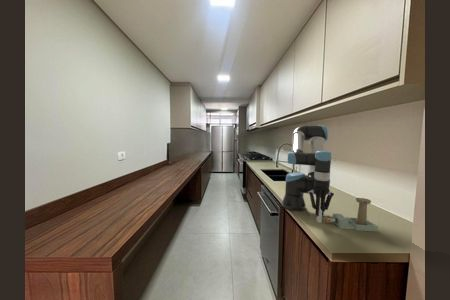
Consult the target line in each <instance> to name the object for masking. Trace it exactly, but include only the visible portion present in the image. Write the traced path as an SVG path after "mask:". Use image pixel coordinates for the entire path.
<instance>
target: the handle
mask: <svg viewBox="0 0 450 300" xmlns="http://www.w3.org/2000/svg"><path fill="white" fill-rule="evenodd" d="M355 201H356V202H357V203H358V209H357V216H356V218H357V221H358V223H357V225H367V224H366V219H367V217H368V214H367V213H368V211H367V209H368V205H369V204H371V203H372V200H371V199H368V198H365V197H356V198H355Z"/></svg>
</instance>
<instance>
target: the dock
mask: <svg viewBox="0 0 450 300" xmlns="http://www.w3.org/2000/svg"><path fill="white" fill-rule="evenodd" d="M332 218H333V219H338V223H336V222H333V224H334V225H336V226H337V227H338V228H339V229H342V230H343V229H345V230H356V231H365V232H367V231H368V232H369V231H370V232H379V226H378V225H376V224H375V223H374V222H373V221H370V220H369V219H366V224H365V225H358V221H357V217H348V216H346V217H345V216H344V215H342V214H341V213H332Z"/></svg>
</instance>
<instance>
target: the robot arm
mask: <svg viewBox="0 0 450 300" xmlns="http://www.w3.org/2000/svg"><path fill="white" fill-rule="evenodd" d="M328 133H329V132H328V128H327V126H326V125H321V124H318V125H300V126H298V127H296V128H295V129H294V130H293V131H292V132H291V135H290V139H291V140H292V141H291V151H288V152H287V164H289V165H298V166H299V165H301V166H309V172H308V173H307V175H305V173H304V172H290V173H287V174H286V176H285V190H284V191H285V192H284V196H283V199H282V201H281V206H282V207H283V208H284V209H287V210H290V211H293V212H294V211H295V212H301V211H302V212H303V211H305V210H306V207H307V206H306V202H305V199H304V194H307V195H308V194H309V198H310V202H311V207H312V208H313V209H314V210H315V212H314V213H315V216H316V222H317V223H322V220H323V219H322V218H323V217H324V213H325V211H328V209H329V208H330V207H329V206H330V204H331V201H332V198H333V196H334V195H335V193H333V192H332V191H330V185H331V164H332V153H331V151H327V150H324V144H325V143H326V142H327V141H328V136H329V135H328ZM304 141H307V142H308V144H309V146H310V147H309V149H310V150H309V152H305V151H304V150H305V147H304ZM314 195H315V196H314Z"/></svg>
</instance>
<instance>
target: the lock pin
mask: <svg viewBox="0 0 450 300" xmlns="http://www.w3.org/2000/svg"><path fill="white" fill-rule="evenodd" d="M324 222H325V224H330V223H334V222H336V223H338V219H333V217H332V218H329V216H325V217H324Z"/></svg>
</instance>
